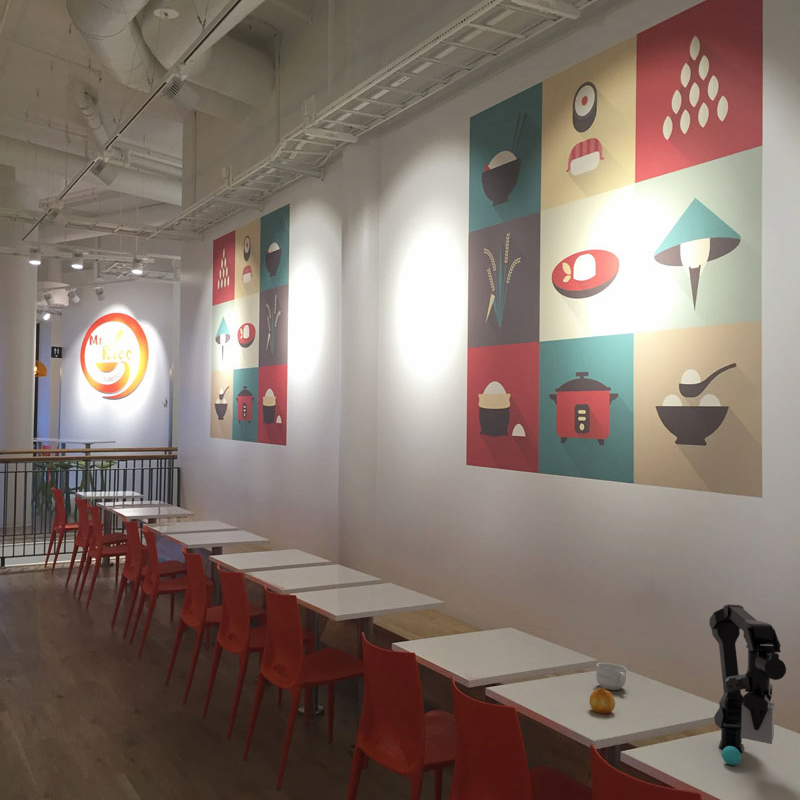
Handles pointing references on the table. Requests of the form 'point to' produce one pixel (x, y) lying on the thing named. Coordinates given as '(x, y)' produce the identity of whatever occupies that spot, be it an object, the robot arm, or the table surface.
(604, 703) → the fruit
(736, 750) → the ball
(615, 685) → the teacup
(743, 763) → the table surface
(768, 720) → the gray wedge-topped block
